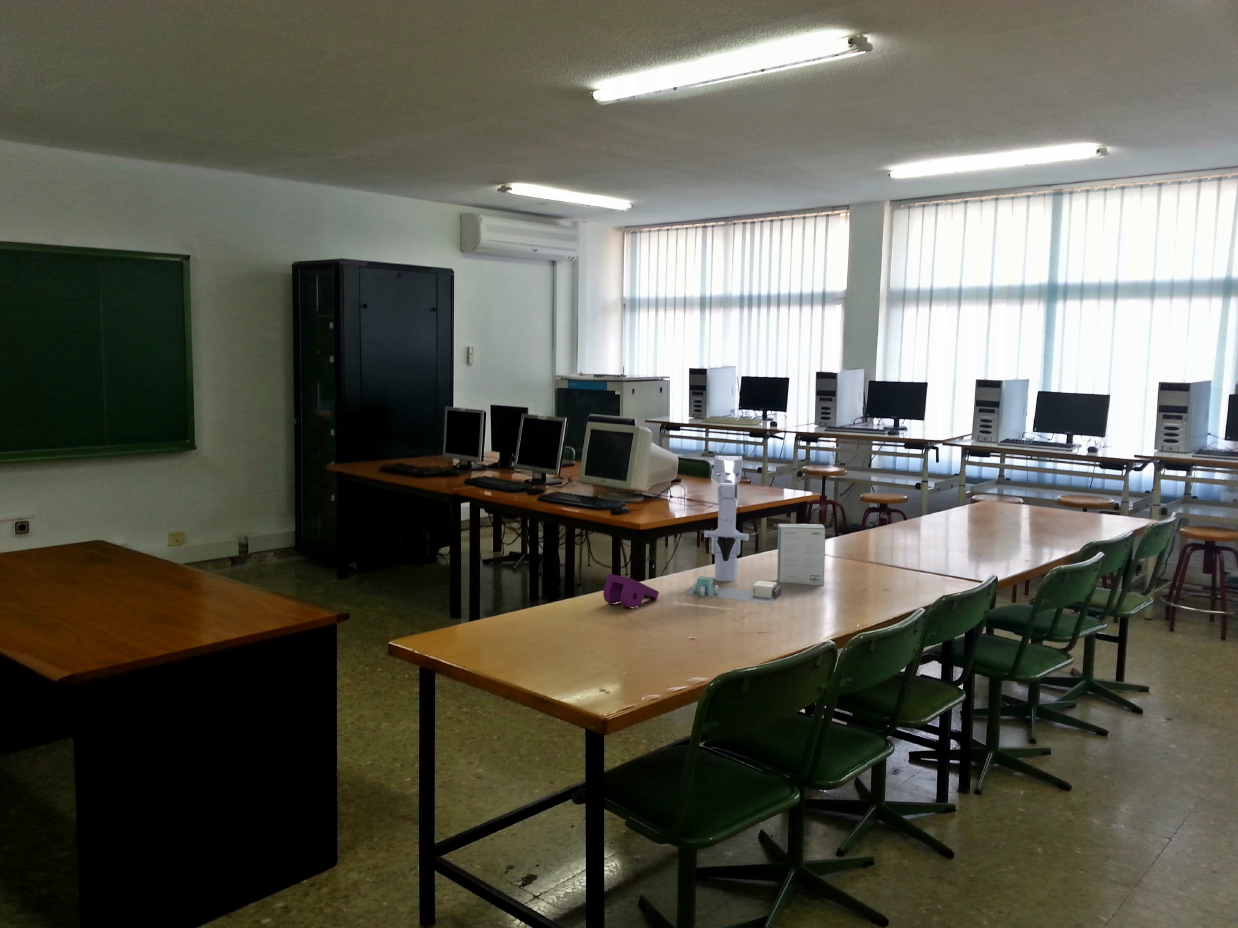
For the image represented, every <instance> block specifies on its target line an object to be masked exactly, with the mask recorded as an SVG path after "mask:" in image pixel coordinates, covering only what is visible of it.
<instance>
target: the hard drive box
mask: <svg viewBox="0 0 1238 928" xmlns="http://www.w3.org/2000/svg"><path fill="white" fill-rule="evenodd" d="M825 527H826V526H824V525H823V523H822V524H821V523H819V524H818V523H817V524H815V523H813V524H812V523H811V524H810V523H778V524H777V569H776V570H777V575H776V576H777V578H776V579H777V580H776V581H777V583H788V584H789V583H790V584H791V583H792V584H798V585H799V584H800V585H809V586H811V585H812V586H824V585H825V558H826V557H825V556H826V554H825V553H826V528H825Z"/></svg>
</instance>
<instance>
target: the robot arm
mask: <svg viewBox="0 0 1238 928" xmlns="http://www.w3.org/2000/svg"><path fill="white" fill-rule="evenodd" d="M713 457H714V458H713V478H714V481H715V482H717V501H718V502H717V503H718V504H717V505H718V510H717V511H718V512H717V513H718V515H717V516H718V517H717V528H716V529H715V530H704V533H703V534H704V538H711V553H712V554H713V555H714V580H716V581H718V582H733V581H736V579H737V578H739V576H738V575H739V574H738V572H739V570H738V569H739V560H738V558H737V556H739V555H740V554H741V541H749V540H750V534H749V533H744V532H743V533H742V532H740V531H739V530H737V529H736V528H737V527H736V525H737V523H736V522H737V500H738V499H739V496H738V495H739V485H738V483H740V482H741V478H742V473H743V456H741V455H717V454H716V455H715V456H713Z"/></svg>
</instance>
